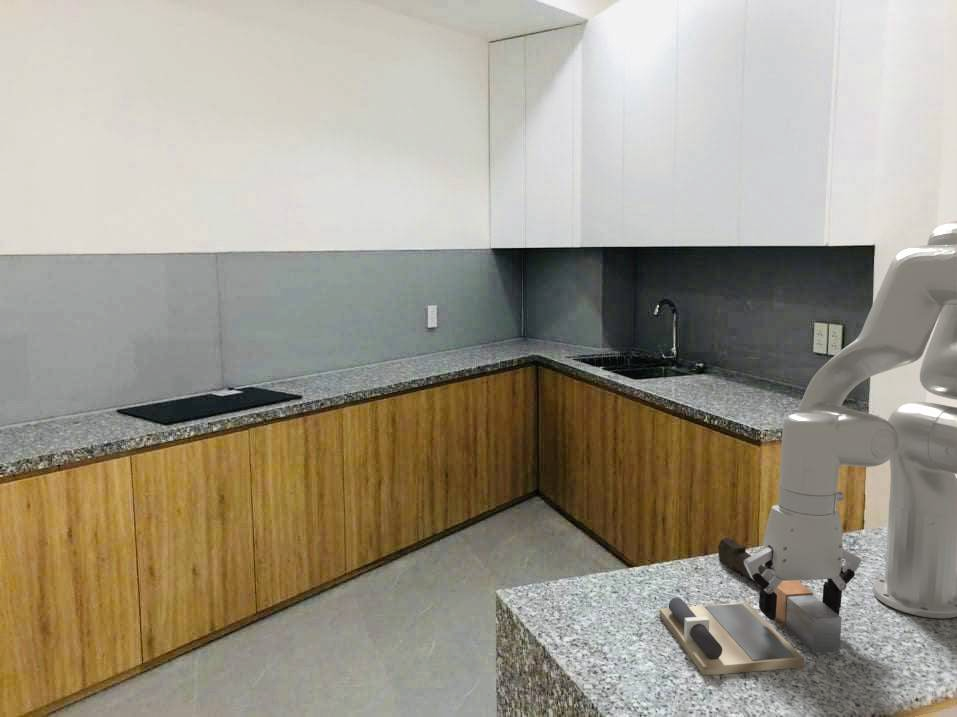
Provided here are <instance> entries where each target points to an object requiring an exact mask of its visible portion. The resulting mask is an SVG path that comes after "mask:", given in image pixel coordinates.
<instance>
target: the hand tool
mask: <svg viewBox="0 0 957 717" xmlns="http://www.w3.org/2000/svg"><path fill="white" fill-rule="evenodd" d="M746 548H747V547H744V546H743V545H742V544H740V543H738V542H736V541H735V540H733V539H730V538H728V537H724V538H722V539H721V540H720V541H719V543H718V546H717V549H718V557H719V560H720V561H721V562H722V563H723V564H724V565H725V566H726V567H728V568H729V569H730V570H731V571H735V572H740V573H742V574H743V575H744V576H745V577H747V579H751V580H752V581H754V580H753V579H752V578H751V577H750V576H749V573H748V571H747V569H746V567H745V565H744V560H745V559H747V558H749V557H750V556H752V555H751V554H749V552H746V550H747V549H746ZM758 570H759V573H760V575H761V574H762V573H763V572H764V571H765V570H766V568H764V567H763V566H762V565H760V566H759V567H758ZM773 576H774V575H773ZM754 582H755V581H754ZM768 582H769V581H768Z"/></svg>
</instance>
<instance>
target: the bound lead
mask: <svg viewBox="0 0 957 717" xmlns="http://www.w3.org/2000/svg"><path fill="white" fill-rule="evenodd" d="M668 608H669V609H670V611H671V612H672V613H673V614H674V616H675V617H676V618H677V619H678V621H679V622H680V623H681V625H682V626H683V627H684V638H685V639H686V640H687V641H691V640H694V641H695V642H696V644H697V645H698V646H699V648H700V649H701V650H702V651H703V653H704V654H705V655H706V657H707V658H709V659H712V660H714V659H717V658H719V657H720V656H721V654H722V647H721V645H720V644H719V643H718V642H717V640H716V639H715V638H714V637H713V636H712V635H711V633H710V632H709V619H708V618H707V616H703V617H696V616H695V614H694V613H693V612H692V611H691V610H690V608H689V606H688V605H687V603H686V602H685V601H684V600H683V599H682V598H681V597H679V596H678V597H673V598H671V599H670V600H669V602H668Z"/></svg>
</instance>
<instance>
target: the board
mask: <svg viewBox="0 0 957 717" xmlns="http://www.w3.org/2000/svg"><path fill="white" fill-rule="evenodd" d="M688 607H689V608H690V610H691V611H692V612H693V613H694V614H695V616H696V617H703V616H707V618H708V619H709V632H710V633H711V635H712V636H713V637H714V638H715V639H716V640H717V642H718V643H719V644H720V645H721V647H722V654H721V656H720V657H719V658H717V659H714V660H712V659H709V658H707V657H706V655H705V654H704V653H703V651H702V650H701V649H700V648H699V646H698V645H697V644H696V642H695V641H694V640H691V641H687V640H686V639H685V638H684V627H683V626H682V625H681V623H680V622H679V621H678V619H677V618H676V617H675V616H674V614H673V613H672V612H671V611H670V609H669V607H665V608H659V617H660V619H661V620H662V621H663V623H664V624H665V626H666V627H667V628H668V629H669V631H670V632H671V634H672V635H673V636H674V638H675V639H676V640H677V641H678V643H679V644H680V645H681V647H682V648H683V649H684V651H685V652H686V654H687V656H689V658H690V659H691V661H692V662H693V663H694V664H695V666H696V668H697V669H698V670H699V671H700V673H701V674H702V675H703V676H713V675H714V676H715V675H716V676H717V675H725V674H727V675H728V674H737V673H738V674H739V673H747V672H748V673H750V672H751V673H752V672H761V671H762V672H763V671H775V670H783V669H797V668H805V665H806V664H805V662H806V659H805V657H804V656H803V655H802V654H801V653H799V651H798V650H796V649H795V648H794V647H793V645H791V643H789V642H788V641H787V640H786V639H785V638H784V636H782V635H781V634H780V633H779V632H778V631H777V630H776V629H775V628H774V627H773V626H772V625H771V624H769V622H768V621H767V620H766V619H764V617H762V615H760V614H759V612H757V610H755V608H754V607H752V606H751V605H750V603H748V602H735V603H733V602H731V603H720V604H707V605H706V604H705V605H693V606H692V605H691V606H688Z"/></svg>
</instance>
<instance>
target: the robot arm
mask: <svg viewBox="0 0 957 717" xmlns="http://www.w3.org/2000/svg"><path fill="white" fill-rule="evenodd" d="M866 317H867V318H866V319H865V321H864V325H863V327H862V328H861V331H860V334H859V335H858V336H857V337H856V339H855V340H853V341H852V342H851V343H850V344H848V345H846V346H845V347H844V348H842V349H841V350H839V352H837V353H836V354H835V355H834V356H833V357H831V358H830V359H828V361H827V362H826V363H824V365H822V366H821V367H820V368H819V369H818V371H817V372H816V373H815V374H814V375H813V377H812V378H811V380H810V381H809V383H808V385H807V388H806V390H805V392H804V395H803V397H802V399H801V401H800V404H799V406H798V409H797V412H796V413H791V414H790V415H789V414H788V415H787V416H786V418H785V419H784V420H783V422H782V423H783V424H782V432H781V435H782V437H781V449H780V451H781V452H780V465H779V480H778V495H777V496H778V498H777V500H778V501H777V504H776V505H772V506H771V509H770V512H769V514H768V518H767V522H766V527H765V532H764V538H763V544H762V549H761V550H760V551H758V552H756V553H754V554H752V555H751V556H750V557H749V558H747V559H745V560H744V565H745V567H746V569H747V571H748V573H749V576H750V577H751V578H752V579H753V580H754V583H756V584H757V586H758V587H759V594H758V595H759V596H758V597H759V598H758V608H759V610H760V611H761V613H762V614H763V615H764V616H765V617H766V618H767V619H769V620H770V621H774V620H776V605H777V594H776V593H775V592H773V591H774V590H775V589H776V588H777V587H778V585H779V584H780V583H781V582H782V581H783V580H784V581H796V580H798V581H814V580H815V581H817V580H819V581H820V580H827V581H824V583H823V586H822V588H823V589H822V600H821V601H822V602H823V603H824V604H825V605H827V606H828V607H829V608H830V609H832V610H833V611H834V612H835V613H837V614H838V615H839V616H840V611H841V610H840V609H841V606H842V595H843V594H842V593H843V591H845V590H846V589H847V586H848V585H847V584H849V582H850V581H851V580H852V579H853V578H855V574H856V573H855V572H857V570H858V568H859V567H860V565H861V563H862V558H860V557H859V556H857V555H855V554H854V553H852V552H850V551H849V550H846V549H845V548H843V544H844V543H843V530H842V529H843V528H842V522H841V521H842V520H841V516H840V512H839V510H837V507H838V506H837V504H838V502H843V501H844V497H845V496H844V493H843V492H842V491H838V486H839V485H838V483H839V469H840V467H841V466H846V467H858V468H859V467H861V468H872V467H877V466H881V465H882V464H884V463H886V462H888V461H889V466H890V468H889V470H890V485H889V486H890V489H889V501H888V502H889V504H888V517H887V518H888V519H887V520H888V521H887V532H886V533H887V534H886V536H887V537H886V547H885V548H886V551H885V564H884V565H885V567H884V568H885V570H884V577H880V578H878V579H877V580H875V581H874V582H873V586H872V593H873V595H874V596H875V598H877V599H878V600H879V601H880V602H882V604H884V605H886V606H888V607H890V608H892V609H895V610H898V611H899V612H902V613H905V614H908V615H909V614H910V615H912V616H913V615H914V616H917V617H923V618H931V619H953V618H956V617H957V476H956V475H957V407H956V406H951V405H945V404H940V403H934V402H926V401H913V402H907V403H904V404H902V405H900V406H898V407H897V408H895V409H894V410H893V412H892V413H891V414H890V416H889V417H888V420H886V419H885V418H883V417H882V416H881V417H880V416H878V415H876V414H872V413H867V412H862V411H857V410H855V409H851V408H846V407H843V406H842V405H843V403H844V402H845V400H846V398H847V396H848V395H849V393H851V391H853V389H855V387H857V386H858V385H859V384H860V383H862V382H864V381H866V380H867V379H869V378H871V377H874V376H876V375H879V374H881V373H885V372H888V371H891V370H894V369H897V368H901V367H904V366H907V365H910V364H913V363H915V362H916V361H918V360H920V358H921V357H922V356H923V354H924V352H925V350H926V352H925V354H924V357H923V359H922V363H921V366H920V371H919V382H920V383H921V386H922V387H923V388H924V389H925V390H926V391H927V392H929V393H930V394H932V395H936V396H938V397H942V398H946V399H951V400H956V401H957V220H955V221H951V222H946V223H944V224H941V225H940V226H937V227H936V228H935V229H934V230H933V231H932V232H931V233H930V236H929V238H928V240H927V245H918V246H911V247H909V248H906V249H904V250H901V251H900V252H899V253H898V254H896V255H895V256H894V258H893V259H892V261H891V263H890V264H889V266H888V268H887V271H886V274H885V276H884V278H883V280H882V283H881V284H880V287H879V290H878V292H877V294H876V296H875V299H874V301H873V304H872V306H871V308H870V310H869V313H868V315H867V316H866ZM931 335H932V336H931ZM930 337H931V338H930ZM928 343H929V344H928ZM927 345H928V346H927ZM844 560H845V562H844V565H843V561H844ZM760 565H762V566H763V567H764V568H766V570H765V571H764V572H763V573H762V574H761V575H760V573H759V570H758V567H759V566H760ZM773 575H774V576H773ZM751 578H750V579H751ZM752 579H751V580H752ZM753 580H752V581H753ZM769 580H770V581H769ZM768 581H769V582H768Z"/></svg>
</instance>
